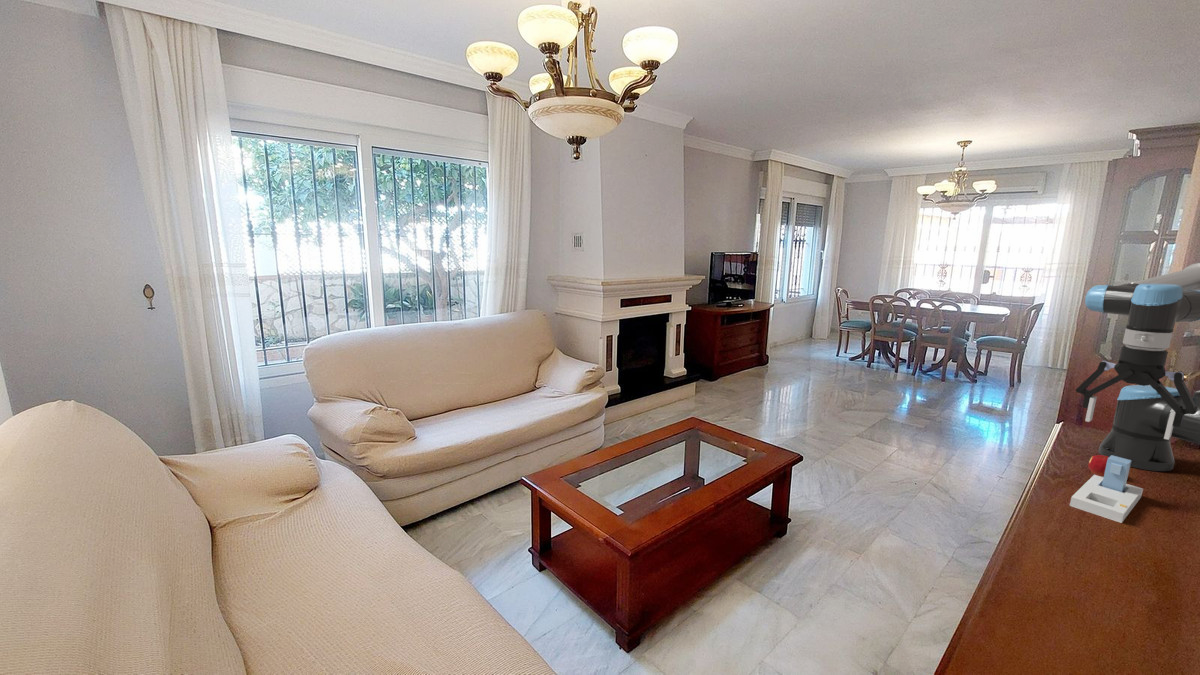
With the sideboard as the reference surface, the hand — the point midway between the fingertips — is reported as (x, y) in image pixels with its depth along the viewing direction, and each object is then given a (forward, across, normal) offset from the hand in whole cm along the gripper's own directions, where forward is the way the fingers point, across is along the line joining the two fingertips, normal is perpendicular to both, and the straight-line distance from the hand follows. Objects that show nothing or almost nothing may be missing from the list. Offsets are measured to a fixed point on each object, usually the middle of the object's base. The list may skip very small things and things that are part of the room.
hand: (1125, 428), depth 119 cm
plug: (+18, 0, 0) cm, 18 cm away
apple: (+19, -4, +13) cm, 24 cm away
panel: (+19, 0, -5) cm, 20 cm away
